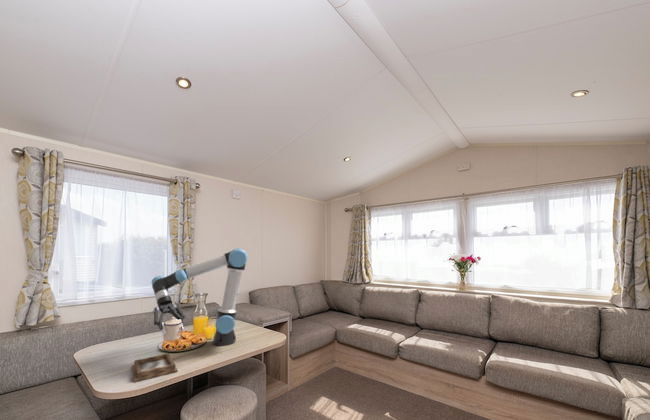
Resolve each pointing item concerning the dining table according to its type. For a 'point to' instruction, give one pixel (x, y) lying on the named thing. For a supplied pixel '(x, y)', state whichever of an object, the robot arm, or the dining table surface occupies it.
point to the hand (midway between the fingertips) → (173, 332)
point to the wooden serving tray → (153, 367)
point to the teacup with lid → (172, 329)
